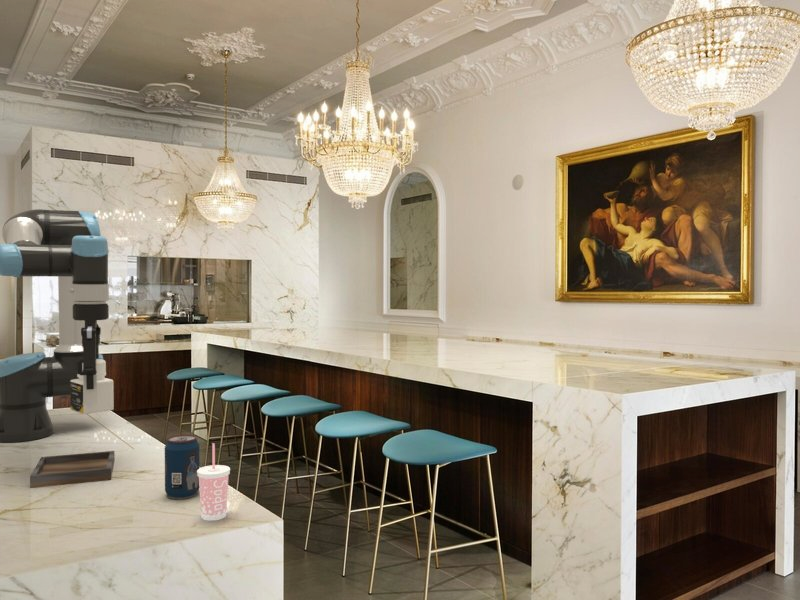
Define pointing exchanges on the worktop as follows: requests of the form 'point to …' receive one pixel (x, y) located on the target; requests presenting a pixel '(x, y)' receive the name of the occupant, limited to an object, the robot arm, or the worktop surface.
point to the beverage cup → (213, 489)
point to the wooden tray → (73, 469)
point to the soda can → (182, 466)
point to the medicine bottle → (103, 391)
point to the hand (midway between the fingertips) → (91, 399)
